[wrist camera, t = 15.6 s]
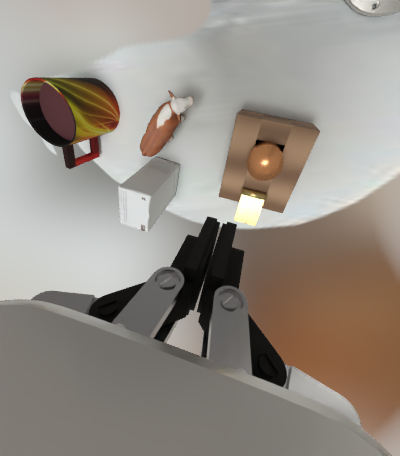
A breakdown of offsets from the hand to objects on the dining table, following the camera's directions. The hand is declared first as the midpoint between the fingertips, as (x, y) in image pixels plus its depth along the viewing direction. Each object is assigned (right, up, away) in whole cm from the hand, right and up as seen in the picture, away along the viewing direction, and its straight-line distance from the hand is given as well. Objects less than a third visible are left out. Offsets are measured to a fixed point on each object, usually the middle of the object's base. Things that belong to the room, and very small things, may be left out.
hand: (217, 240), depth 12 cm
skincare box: (-8, +12, +35) cm, 38 cm away
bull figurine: (-6, +21, +28) cm, 36 cm away
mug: (-21, +24, +32) cm, 45 cm away
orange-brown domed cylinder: (+11, +15, +26) cm, 32 cm away
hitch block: (+11, +14, +27) cm, 32 cm away
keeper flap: (+8, +5, +26) cm, 28 cm away
